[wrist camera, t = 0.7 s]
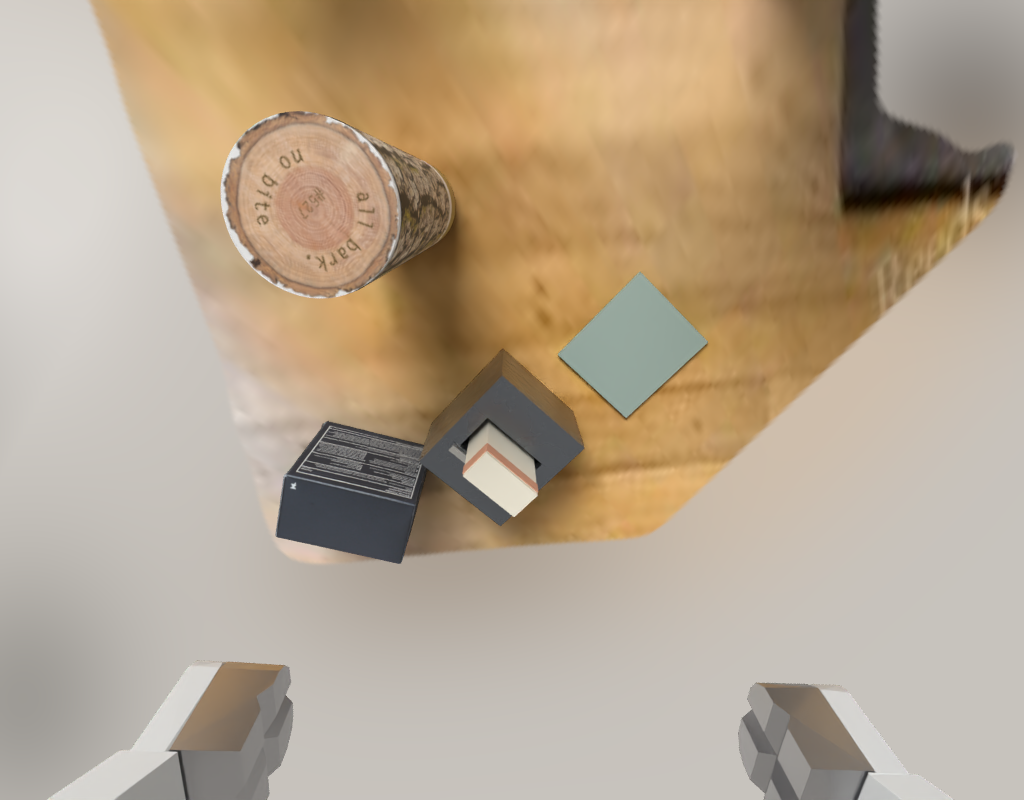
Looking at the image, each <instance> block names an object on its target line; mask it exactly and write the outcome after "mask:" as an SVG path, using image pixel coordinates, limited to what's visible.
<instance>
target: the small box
mask: <svg viewBox="0 0 1024 800" xmlns="http://www.w3.org/2000/svg"><path fill="white" fill-rule="evenodd" d="M423 447H424V445H421V444H418V443H413V442H409V441H405V440H401V439H398V438H393V437H389V436H385V435H381V434H377V433H373V432H369V431H365V430H361V429H357V428H353V427H349V426H345V425H341V424H337V423H332V422H329V421H327V422H325V423H324V424H323V425H322V428H321V429H320V431H319V432H318V433H317V435H316V436H315V437H314V438H313V440H312V441H311V442H310V444H309V445H308V446H307V448H306V449H305V450H304V452H303V453H302V454H301V456H300V457H299V458H298V460H297V461H296V462H295V464H294V465H293V466H292V468H291V469H290V470H289V471H288V472H287V473H286V474H285V475H284V479H283V487H282V494H281V500H280V508H279V515H278V522H277V529H276V537H278V538H283V539H288V540H293V541H297V542H302V543H307V544H311V545H316V546H321V547H325V548H330V549H334V550H339V551H343V552H348V553H353V554H357V555H362V556H366V557H371V558H375V559H380V560H384V561H389V562H393V563H398V564H400V563H401V562H402V559H403V556H404V553H405V549H406V546H407V542H408V539H409V535H410V532H411V529H412V525H413V521H414V518H415V514H416V510H417V506H418V502H419V499H420V495H421V491H422V488H423V484H424V480H425V476H426V472H427V468H426V467H424V466H423V465H422V464H421V463H419V459H420V456H421V453H422V450H423Z"/></svg>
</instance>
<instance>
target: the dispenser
mask: <svg viewBox="0 0 1024 800" xmlns="http://www.w3.org/2000/svg"><path fill="white" fill-rule="evenodd" d="M487 418H488V419H490V420H491V421H492V422H493V423H494V424H495V425H497V426H498V427H499V428H500V429H501V430H502V431H504V432H505V433H506V434H507V435H508V436H510V437H511V438H512V439H513V440H514V441H515V442H517V443H518V444H519V445H520V446H521V447H523V448H524V449H525V450H526V451H527V452H528V453H530V454H531V455H532V456H533V457H534V465H535V474H536V484H538V491H539V490H540V489H541V488H542V487H543V486H544V485H545V484H547V483H548V482H549V481H550V480H551V479H552V478H553V477H554V476H555V475H556V474H557V473H558V472H559V471H561V470H562V469H563V468H564V467H565V466H566V465H567V464H568V463H569V462H570V461H571V460H572V459H573V458H575V457H576V456H577V455H578V454H579V453H580V452H581V451H582V450H583V449H584V444H583V441H582V438H581V435H580V432H579V429H578V425H577V422H576V419H575V416H574V413H573V411H572V410H571V409H570V408H569V407H568V406H567V405H565V404H564V403H563V402H562V401H561V400H560V399H559V398H558V397H556V396H555V395H554V394H553V393H552V392H551V391H550V390H549V389H548V388H546V387H545V386H544V385H543V384H542V383H541V382H540V381H539V380H538V379H536V378H535V377H534V376H533V375H532V374H531V373H530V372H529V371H528V370H526V369H525V368H524V367H523V366H522V365H521V364H520V363H519V362H518V361H516V360H515V359H514V358H513V357H512V356H511V355H510V354H509V353H508V352H506V351H505V350H504V349H502V350H501V351H500V352H499V353H498V354H497V355H496V356H495V357H494V358H493V360H492V361H491V362H490V363H489V364H488V365H487V366H486V367H485V368H484V369H483V370H482V371H481V372H480V373H479V374H478V375H477V376H476V377H475V378H474V379H473V380H472V382H471V383H470V384H469V385H468V386H467V387H466V388H465V389H464V390H463V391H462V392H461V393H460V394H459V395H458V396H457V397H456V398H455V399H454V400H453V401H452V403H451V404H450V405H449V406H448V407H447V408H446V409H445V410H444V411H443V412H442V413H441V414H440V415H439V416H438V417H437V418H436V419H435V420H434V421H433V422H432V424H431V427H430V430H429V433H428V436H427V439H426V442H425V445H424V447H423V450H422V453H421V456H420V459H419V463H421V464H422V465H423V466H424V467H426V468H427V469H428V470H430V471H431V472H432V473H433V474H435V475H436V476H437V477H438V478H440V479H441V480H442V481H444V482H445V483H446V484H447V485H449V486H450V487H451V488H452V489H454V490H455V491H456V492H458V493H459V494H460V495H461V496H463V497H464V498H465V499H466V500H468V501H469V502H470V503H472V504H473V505H474V506H475V507H477V508H478V509H479V510H480V511H482V512H483V513H484V514H486V515H487V516H488V517H489V518H491V519H492V520H493V521H494V522H496V523H497V524H498V525H500V526H501V525H502V524H503V523H505V522H506V521H507V520H508V519H509V518H510V517H511V516H512V515H511V514H509V513H508V512H507V511H506V510H504V509H503V508H502V507H501V506H499V505H498V504H497V503H496V502H494V501H493V500H492V499H491V498H489V497H488V496H487V495H486V494H484V493H483V492H482V491H481V490H479V489H478V488H477V487H476V486H474V485H473V484H472V483H471V482H469V481H468V480H467V479H466V478H464V477H463V474H462V473H463V467H464V465H465V461H466V454H467V448H468V442H469V436H470V435H471V434H472V433H473V432H474V431H475V430H476V429H477V428H478V427H479V426H480V425H481V424H482V423H483V422H484V421H485V420H486V419H487Z"/></svg>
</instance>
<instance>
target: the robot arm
mask: <svg viewBox="0 0 1024 800" xmlns="http://www.w3.org/2000/svg"><path fill="white" fill-rule="evenodd" d="M290 683H291V679H290V670H289V667H287V666H285V665H271V664H256V663H241V662H217V661H200V660H197V661H195V662H194V663H193V664H191V665H190V666H189V667H188V668H187V669H186V670H185V672H184V673H183V675H182V676H181V678H180V679H179V680H178V682H177V683H176V685H175V686H174V688H173V689H172V691H171V692H170V694H169V695H168V696H167V698H166V699H165V701H164V702H163V704H162V705H161V707H160V708H159V709H158V711H157V712H156V714H155V715H154V717H153V718H152V719H151V721H150V722H149V724H148V725H147V727H146V728H145V729H144V731H143V732H142V734H141V735H140V737H139V738H138V740H137V741H136V743H135V744H134V746H133V747H132V748H131V750H120V751H118V752H117V753H115V754H114V755H112V756H111V757H109V758H108V759H106V760H105V761H103V762H102V763H100V764H99V765H97V766H96V767H94V768H93V769H91V770H90V771H89V772H87V773H85V774H84V775H82V776H81V777H80V778H78V779H77V780H75V781H74V782H72V783H71V784H69V785H68V786H66V787H65V788H63V789H62V790H60V791H59V792H57V793H56V794H54V795H53V796H51V797H50V798H48V799H47V800H267V798H268V796H269V783H268V776H269V775H270V774H272V773H273V772H274V771H275V770H276V769H277V768H278V767H280V765H281V763H282V760H283V758H284V755H285V752H286V750H287V747H288V742H289V738H290V734H291V730H292V722H293V703H292V701H291V700H290V699H289V698H288V697H287V696H286V692H287V690H288V688H289V685H290ZM747 700H748V702H749V704H750V706H751V708H752V710H751V711H750V712H748V713H747V714H746V715H745V716H744V717H743V718H742V719H741V724H740V728H739V732H738V735H739V750H740V754H741V757H742V761H743V765H744V767H745V769H746V772H747V774H748V776H749V778H750V780H751V781H752V782H753V783H754V784H755V785H756V786H758V787H759V788H760V789H761V790H762V791H763V792H764V793H765V796H764V800H953V799H952V798H951V797H949V796H948V795H947V794H945V793H944V792H942V791H940V789H938V788H937V787H935V786H934V785H932V784H931V783H930V782H928V781H927V780H925V779H924V778H922V777H921V776H920V775H917V774H909V773H908V772H907V770H906V769H905V767H904V766H903V765H902V763H901V762H900V761H899V759H898V758H897V757H896V755H895V754H894V753H893V751H892V750H891V749H890V747H889V746H888V745H887V743H886V742H885V741H884V739H883V738H882V737H881V735H880V734H879V732H878V731H877V730H876V728H875V727H874V726H873V724H872V723H871V722H870V720H869V719H868V718H867V717H866V715H865V714H864V712H863V711H862V710H861V708H860V707H859V706H858V704H857V703H856V702H855V700H854V699H853V697H852V696H851V695H850V694H849V692H848V691H847V690H846V689H844V688H843V687H841V686H840V685H815V684H812V685H808V684H785V683H782V684H781V683H755V684H754V685H753V686H752V687H751V688H750V691H749V695H748V698H747Z"/></svg>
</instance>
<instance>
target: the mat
mask: <svg viewBox="0 0 1024 800" xmlns="http://www.w3.org/2000/svg"><path fill="white" fill-rule="evenodd" d="M707 343H708V341H707V340H706V339H705V338H704V337H703V336H702V335H701V334H700V333H699V332H698V331H697V330H696V329H695V328H694V327H693V326H692V325H691V324H690V323H689V322H688V321H687V320H686V319H685V318H684V317H683V316H682V315H681V314H680V313H679V311H678V310H677V309H676V308H675V307H674V306H673V305H672V304H671V303H670V302H669V301H668V300H667V299H666V298H665V297H664V296H663V295H662V294H661V293H660V292H659V291H658V290H657V289H656V288H655V287H654V286H653V285H652V284H651V283H650V281H649V280H648V279H647V278H646V277H645V276H644V275H643V274H642V273H641V272H639V273H638V274H637V275H636V276H635V277H634V278H633V279H632V280H631V281H630V282H629V283H628V284H627V285H626V286H625V287H624V288H623V289H622V290H621V291H620V292H619V293H618V294H617V295H616V296H615V297H614V298H613V299H612V300H611V301H610V302H609V303H608V304H607V305H606V306H605V307H604V308H603V309H602V310H601V311H600V312H599V313H598V314H597V315H596V316H595V317H594V318H593V319H592V320H591V321H590V322H589V323H588V324H587V325H586V326H585V327H584V328H583V329H582V330H581V331H580V332H579V333H578V334H577V335H576V336H575V337H574V338H573V339H572V340H571V341H570V342H569V343H568V344H567V345H566V346H565V347H564V348H563V349H562V350H561V351H560V352H559V353H558V356H560V357H561V358H562V359H563V360H564V361H565V362H566V363H567V364H568V365H569V366H570V367H571V368H573V369H574V370H575V371H576V372H577V373H578V374H579V375H580V376H581V377H582V378H583V379H584V380H585V381H587V382H588V383H589V384H590V385H591V386H592V387H593V388H594V389H595V390H596V391H597V392H598V393H600V394H601V395H602V396H603V397H604V398H605V399H606V400H607V401H608V402H609V403H610V404H611V405H612V406H614V407H615V408H616V409H617V410H618V411H619V412H620V413H621V414H622V415H623V416H624V417H625V418H627V417H628V416H629V415H630V414H631V413H632V412H633V411H634V410H635V409H636V408H638V407H639V406H640V405H641V404H642V403H643V402H644V401H645V400H646V399H647V398H648V397H649V396H651V395H652V394H653V393H654V392H655V391H656V390H657V389H658V388H659V387H660V386H661V385H662V384H664V383H665V382H666V381H667V380H668V379H669V378H670V377H671V376H672V375H673V374H674V373H675V372H677V371H678V370H679V369H680V368H681V367H682V366H683V365H684V364H685V363H686V362H687V361H688V360H690V359H691V358H692V357H693V356H694V355H695V354H696V353H697V352H698V351H699V350H700V349H701V348H703V347H704V346H705V345H706V344H707Z"/></svg>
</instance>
